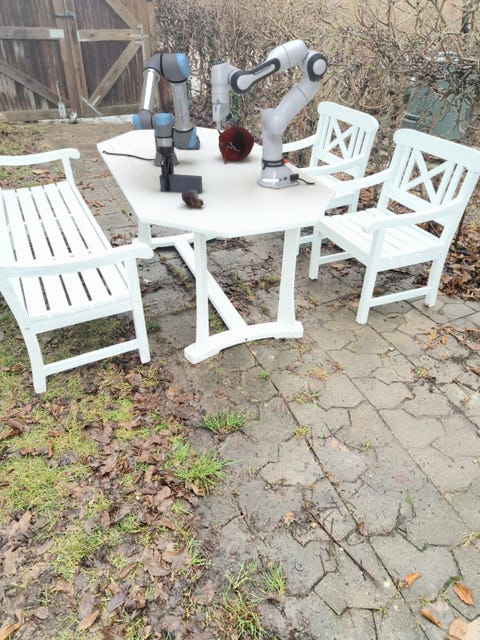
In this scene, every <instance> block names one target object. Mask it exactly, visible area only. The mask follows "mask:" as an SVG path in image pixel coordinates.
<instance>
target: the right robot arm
mask: <svg viewBox="0 0 480 640" xmlns="http://www.w3.org/2000/svg"><path fill="white" fill-rule="evenodd" d="M295 66H297V68H298V70H299V71H301V73H303V74H302V77H301V78H300V80H299V81H298V82H297V83H296V84H295V85H294V86H293V87H292V88H290V90H289V91H288V92H287V93H285V95H284V96H282V98H281V101H279V103H278V105H277V106H276V107H275V108H274V107H268V108H266V109H264V110H263V111H262V112H261V114H260V127H261V128H260V130H261V140H262V152H261V154H262V155H261V156H262V157H261V160H260V161H261V162H260V167H261V172H260V178H259V182H258V184H259V185H260V186H262V187H266V188H273V189H280V188H287V187H291V186H292V187H293V186H297V185H299V181H302V182H303V183H305V184H307V185H316V183H315V182H310V181H306V180H305V179H303V178H300V173H298V172H297V173H294V171H293V170H292V169H291V168H290V167H288V166H287V165H286V164H288V163H289V160H288V159H286V158H283V145H284V143H283V137H282V135H283V133H284V132H285V131H286V130H287V127H288V126H290V124H291V122H292V121H293V119H294V118H295V117H296V116H297V114H299V112H301V110H303V109H304V108H305V107H306V106H307V105H308V104H309V103H310V102H311V101H312V100H313V99H314V98H315V97H316V96H317V94H318V93H319V91H320V90H321V88H322V83H321V80H323V77H324V75H325V74H326V73H327V70H328V68H329V61H328V59H327V57H326V56H325V55H324V54H323V53H321V52H319V51H317V50H314V49H311V48H307V45H306V43H305V42H304V40H302V39H300V38H297V39H294V40H290V41H287V42H284V43H282V44H280V45H278V46H276V47H275V48H273V49H271V51H269V52H268V54H267V58H266V60H265V61H264V62H262V63H260V64H258V65H257V66H255V67H253V68H251V69H249V70H243V69H241V68H238V67H235V66H234V65H232V64H230V63H228V61H226V60H220V61H216V62H215V63H213V64H212V66H211V68H210V84H211V91H210V92H211V103H213V105H212V122H215V124H216V125H215V126H216V130H217V131H218V130H220V131H221V130H222V127H225V126H226V121H227V116H229V114H230V101H231V95H230V90H232V91H233V92H234V93H235V94H237V95H244V94H247V93H248V92H250V90H251V89H252V88H253V86H255V85H256V84H257V83H259V82H261V81H262V80H265V79H266V78H268V77H271V76H272V75H275V74H280V73H282V72H284V71H287V70H289V69H291V68H293V67H295Z"/></svg>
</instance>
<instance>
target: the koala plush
mask: <svg viewBox="0 0 480 640" xmlns="http://www.w3.org/2000/svg"><path fill="white" fill-rule="evenodd" d="M190 122H191V123H192V124H193V128H196V129H197V127H196V126H195V125H194V123H193V122H192V121H191V120H190ZM177 148H179V149H181V150H199V149H200V148H201V140H200V136H199V135H197V134H196V143H195V146H194V147H188V148H187V147H177Z"/></svg>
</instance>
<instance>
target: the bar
mask: <svg viewBox="0 0 480 640" xmlns="http://www.w3.org/2000/svg"><path fill="white" fill-rule="evenodd" d="M168 179H169V182H170V191H165V183H164V179H162V173H161V174H160V175H159V186H160V192H168V193H181V194H182V193H184V192H186V191H190V190H197V192H198V195H200V194H202V193H203V176H202V175H191V174H175V173H173V174H168Z"/></svg>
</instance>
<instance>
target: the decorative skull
mask: <svg viewBox="0 0 480 640" xmlns="http://www.w3.org/2000/svg"><path fill="white" fill-rule="evenodd" d="M217 133H218V150H219V152H220V154H221V156H222V159H223V160H224V162H223V163H224V165H225V164H226V163H227V161H232V162H238V161H242V160H244V159H246V158H248V157H249V155H251V152H252V151H253V148H254V146H255V138H254V136H253V135H252V133H251V132H249V130H247V129H246V128H245V127H243V126H238V125H237V126H236V125H235V126H231V127H229V128H226V129H225V130H223V131H221V129H220V130H217Z"/></svg>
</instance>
